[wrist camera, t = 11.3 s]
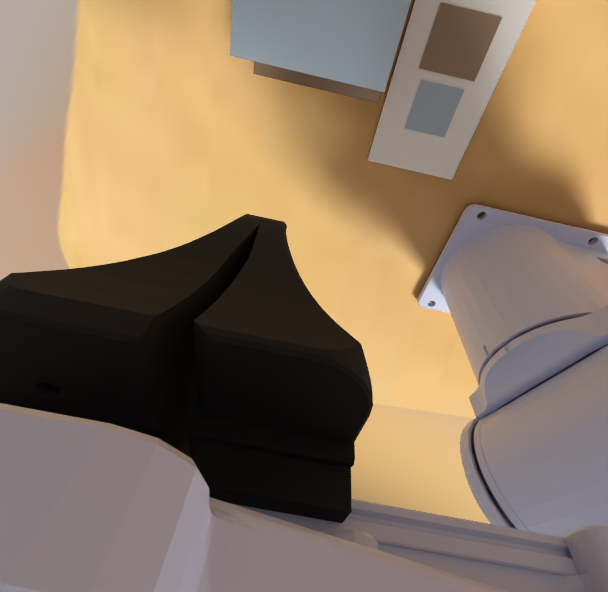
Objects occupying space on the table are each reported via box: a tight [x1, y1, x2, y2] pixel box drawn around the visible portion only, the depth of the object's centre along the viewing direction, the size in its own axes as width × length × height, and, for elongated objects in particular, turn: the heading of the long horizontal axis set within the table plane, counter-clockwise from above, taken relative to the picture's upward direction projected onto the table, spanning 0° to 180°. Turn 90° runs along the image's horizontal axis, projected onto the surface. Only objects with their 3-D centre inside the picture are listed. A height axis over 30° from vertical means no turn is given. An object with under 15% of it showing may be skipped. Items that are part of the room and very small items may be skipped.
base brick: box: [254, 61, 382, 103], centre depth 14 cm, size 6×6×2 cm
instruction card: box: [368, 0, 536, 180], centre depth 16 cm, size 5×8×1 cm, turn 169°
